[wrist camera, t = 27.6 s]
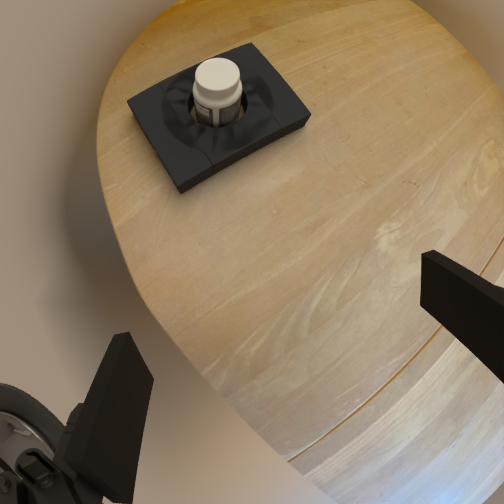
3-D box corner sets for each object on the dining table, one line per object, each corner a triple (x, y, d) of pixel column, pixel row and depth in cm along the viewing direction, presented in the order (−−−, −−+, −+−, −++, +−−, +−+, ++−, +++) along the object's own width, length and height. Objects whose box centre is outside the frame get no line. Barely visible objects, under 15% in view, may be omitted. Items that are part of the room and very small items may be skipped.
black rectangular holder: (181, 194, 30) (177, 186, 27) (132, 113, 30) (126, 100, 27) (304, 125, 32) (311, 114, 29) (248, 56, 32) (251, 42, 29)
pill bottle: (240, 101, 32) (247, 57, 23) (235, 136, 31) (241, 97, 23) (200, 97, 31) (196, 52, 23) (192, 132, 31) (186, 91, 23)
